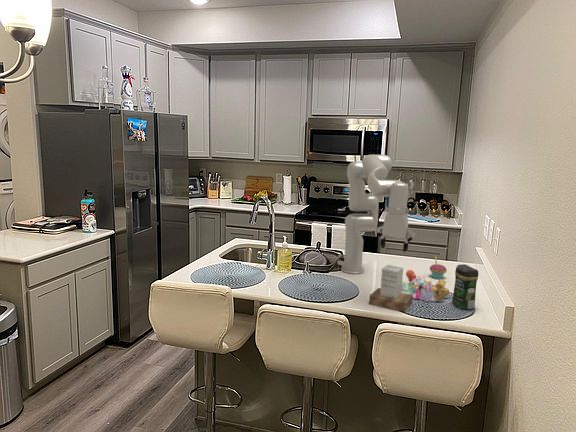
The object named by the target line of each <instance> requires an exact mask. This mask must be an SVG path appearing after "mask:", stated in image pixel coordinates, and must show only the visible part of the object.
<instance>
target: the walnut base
mask: <svg viewBox="0 0 576 432" xmlns="http://www.w3.org/2000/svg"><path fill="white" fill-rule="evenodd" d="M380 290H381V287H379V288H377V289H375V290H374V291H373V292H372V293H371V294H370V295H369V297H368V299H369V300H368V305H371V306H374V307H378V308H379V307H380V308H384V309H389V310H393V311H397V312H401V311H403V312H402V313H406V312H407V311H406V310H409V308H410V307H411V306H412V304H413V300H414V299H413V295H410V294H405V293H401V295H400V296H399V297H397V298H396V299H393V298H389V297H385V296H381V295H380ZM410 305H411V306H410ZM409 306H410V307H409ZM408 307H409V308H408ZM405 311H406V312H405Z"/></svg>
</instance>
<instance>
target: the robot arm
mask: <svg viewBox="0 0 576 432" xmlns="http://www.w3.org/2000/svg"><path fill="white" fill-rule="evenodd" d="M392 162H393V161H392V159H391V157H390V156H388V154H387V155H386V154H368V155H365V156H364V157H363V158H362V160H361V161H353V162H352V161H351V162H350V163H349V164H348V166H347V169H346V175H347V180H348V185H349V187H348V208H349V210H350V211H352V212H367V213H350V214H348V215H347V216H346V217H345V219H344V225H345V226H344V227H345V247H344V260H337V265H338V266H341V268H340V270H341V271H342V272H343V273H346V274H352V275H359V274H363V273H365V268H364V267H362V266H363V252H364V251H363V250H364V239H363V236H362V235H361V233H360V232H374V231H376V234H377V235H378V237H379V239H380V247H381V249H384V248H385V247H386V237H389V238H395V239H401V240H403V247H402V252H403V253H406V252H407V250H408V249H409V242H411V241H412V240H413V239H414V238H415V236H416V235H417V234H416V233H415V232H414V231H413V230H411V229H409V219H408V214H407V207H408V198H409V197H408V196H409V195H408V194H409V185H408V184H407V183H405V182H403V181H401V180H397V179H387V177H388V174H389V172H390V171H391V170H392V166H393V163H392ZM363 179H367V187H368V190H369V191H370V193H366V184H365V182H364V180H363ZM381 197H382V198H389V199H388V206H387V207H386V206H385V208H384V210H385V211H387V212H386V214H385V216H384V221H383V225H381V226H378V222H379V208H380V207H379V202H380V201H379V198H381ZM381 230H382V232H381ZM408 234H409V235H410V237H409V238H408Z"/></svg>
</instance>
